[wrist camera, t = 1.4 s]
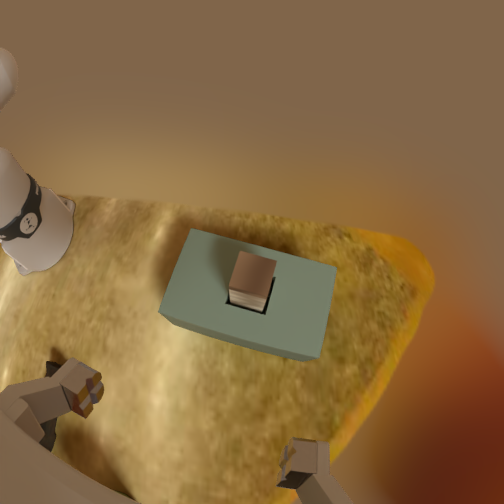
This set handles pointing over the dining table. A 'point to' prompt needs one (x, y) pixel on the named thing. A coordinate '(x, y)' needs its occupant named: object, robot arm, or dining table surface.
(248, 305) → the wooden block
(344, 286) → the dining table surface
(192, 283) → the box with square hole
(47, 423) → the hand tool
